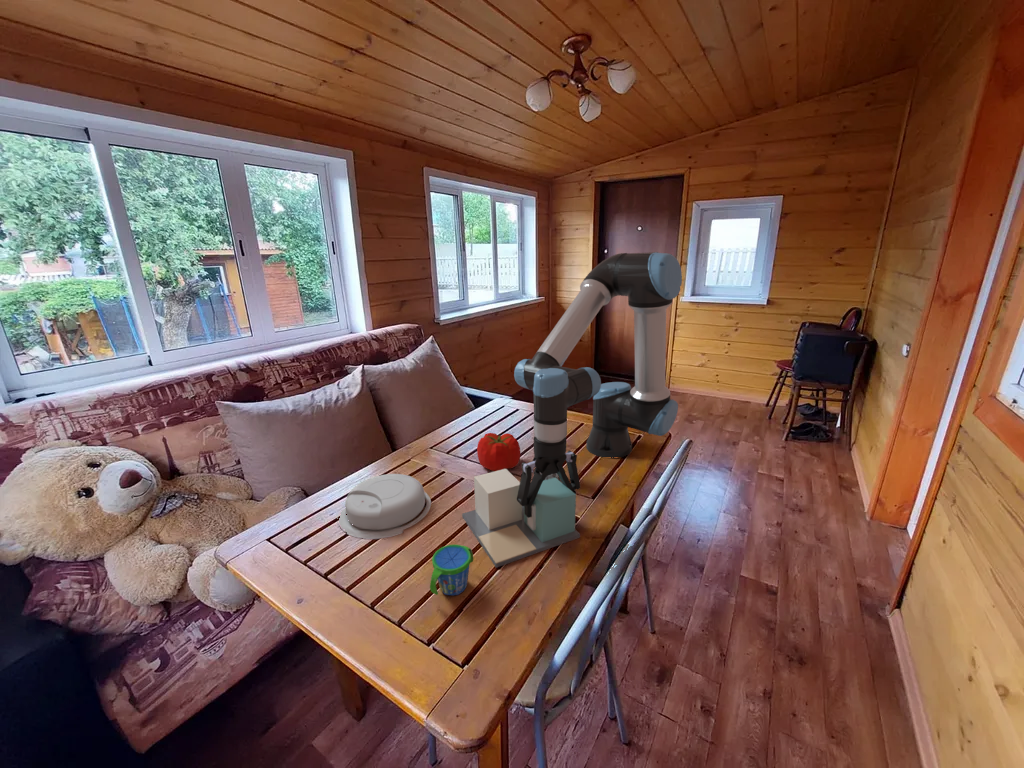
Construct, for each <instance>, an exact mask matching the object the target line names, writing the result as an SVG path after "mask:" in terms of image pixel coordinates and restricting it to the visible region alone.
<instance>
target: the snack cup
mask: <svg viewBox="0 0 1024 768" xmlns="http://www.w3.org/2000/svg"><path fill="white" fill-rule="evenodd" d="M431 561H432V567H433V570H432V574H431V577H430V582H429V583H430V584H429V590H430V592H431V593H432V594H433V595H436V596H437V595H439V592H438V589H437V582H438V585H439V588H440V591H441V592H442V594H444V595H445V596H446V595H447V596H459V595H460V594H461V593H463V592H464V591H465V589H466V588H467V586H468V581H469V574H470V573H469V572H470V565H471V563H473V562H474V554H473V550H472V549H471V548H470V547H468V546H465V545H461V544H448V545H445V546H442V547H440V548H439V549H437V550H436V551H435V552H434V553H433V555H432V557H431Z"/></svg>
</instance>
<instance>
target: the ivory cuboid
mask: <svg viewBox="0 0 1024 768" xmlns="http://www.w3.org/2000/svg"><path fill="white" fill-rule="evenodd" d="M473 484H474V506H475V509H474V510H475V511H476V512H477V514H478V515H479V516H480V518H481V519H482V520H483V522H484V523H485V525H486V526H487V527H488V529H489V530H491V529H494V528H497V527H500V526H503V525H506V524H510V523H513V522H516V521H519V520H522V505H521V504H520V503H519V502H518V501H517V495H518V490H519V485H520V481H519V480H518V479H517V478H516V477H515V476H514V475H513V474H512V473H511V472H510V471H509V469H502V470H498V471H490V472H488V473H483V474H479V475H476V476H475V475H474V476H473Z"/></svg>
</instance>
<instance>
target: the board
mask: <svg viewBox="0 0 1024 768" xmlns="http://www.w3.org/2000/svg"><path fill="white" fill-rule="evenodd" d="M461 516H462V517H461V518H462V519H463V520H464V521H465V523H466V525H467V527H469V529H470V531H471V533H473V535H474V538H475V539H476V540H477V541H478V543H479V544H480V546H481V548H482V549H483V550H484V552H485V553H486V555H487V556H488V557H489V559H490V561H491V562H492V564H493V565H494V567H495V568H496V569H497V568H499V567H502V566H505V565H507V564H510V563H513V562H516V561H519V560H522V559H524V558H527V557H529V556H532V555H535V554H538V553H541V552H543V551H547V550H549V549H551V548H554V547H557V546H560V545H562V544H565V543H566V544H567V543H569V542H572V541H575V540H577V539H580V538H581V533H580V532H579V531H577V530H576V529H575V531H573V532H571V533H568V534H565V535H562V536H559V537H556V538H553V539H551V540H548V541H545V542H542V541H541V540H540V539H539V538H538V537H537V536H536V535H535V533H534V532H533V531H532V530H531V529H530V528H529V527H528V526H527V524H526V523H525V522H524V506H522V520H519V521H516V522H513V523H510V524H506V525H503V526H500V527H497V528H494V529H491V530H489V529H488V527H487V526H486V525H485V523H484V522H483V520H482V519H481V518H480V516H479V515H478V514H477V512H476V511H475V509H473V510H469V511H467V512H463V513H461Z"/></svg>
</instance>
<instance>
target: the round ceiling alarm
mask: <svg viewBox="0 0 1024 768" xmlns="http://www.w3.org/2000/svg"><path fill="white" fill-rule="evenodd" d="M345 498H346V499H345V503H344V505H345V507H346V508H345V509H344V510H343V511H342V512H341V515H340V518H339V523H340V525H341V527H342V528H343V529H345V531H346V532H347V534H346V535H348V536H350V535H351V536H350V537H353V538H358V539H362V538H363V539H364V540H380V539H386V538H391V537H395V536H398V535H402V534H403V533H404V530H406V529H409V528H410V527H412V526H414V525H416V524H417V523H419V522H420V521H422V520H423V519H424V518H425V517H426V516H427V514H428V513H429V511H430V509H431V506H432V501H431V498H430V495H429V494H428V493H427V492H426V491H425V490H424V487H423V485H422V483H421V482H420V481H419V480H417V478H415V477H414V476H410V475H407V474H402V473H388V474H381V475H377V476H372V477H370V478H367V479H365V480H363V481H361V482H360V483H357V484H356V485H355V486H354V487H353V488H352V489H351V490H350V491H349V493H348V494H347V496H346V497H345ZM425 504H426V505H425ZM424 508H425V509H424ZM423 509H424V510H423ZM422 510H423V511H422ZM421 512H422V513H421ZM420 513H421V514H420ZM346 514H347V515H346ZM419 514H420V515H419ZM418 515H419V516H418ZM417 516H418V517H417ZM416 517H417V518H416ZM413 519H414V520H413ZM348 520H349V521H348ZM412 520H413V521H412ZM410 521H411V522H410ZM408 522H409V523H408ZM352 524H353V525H352Z"/></svg>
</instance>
